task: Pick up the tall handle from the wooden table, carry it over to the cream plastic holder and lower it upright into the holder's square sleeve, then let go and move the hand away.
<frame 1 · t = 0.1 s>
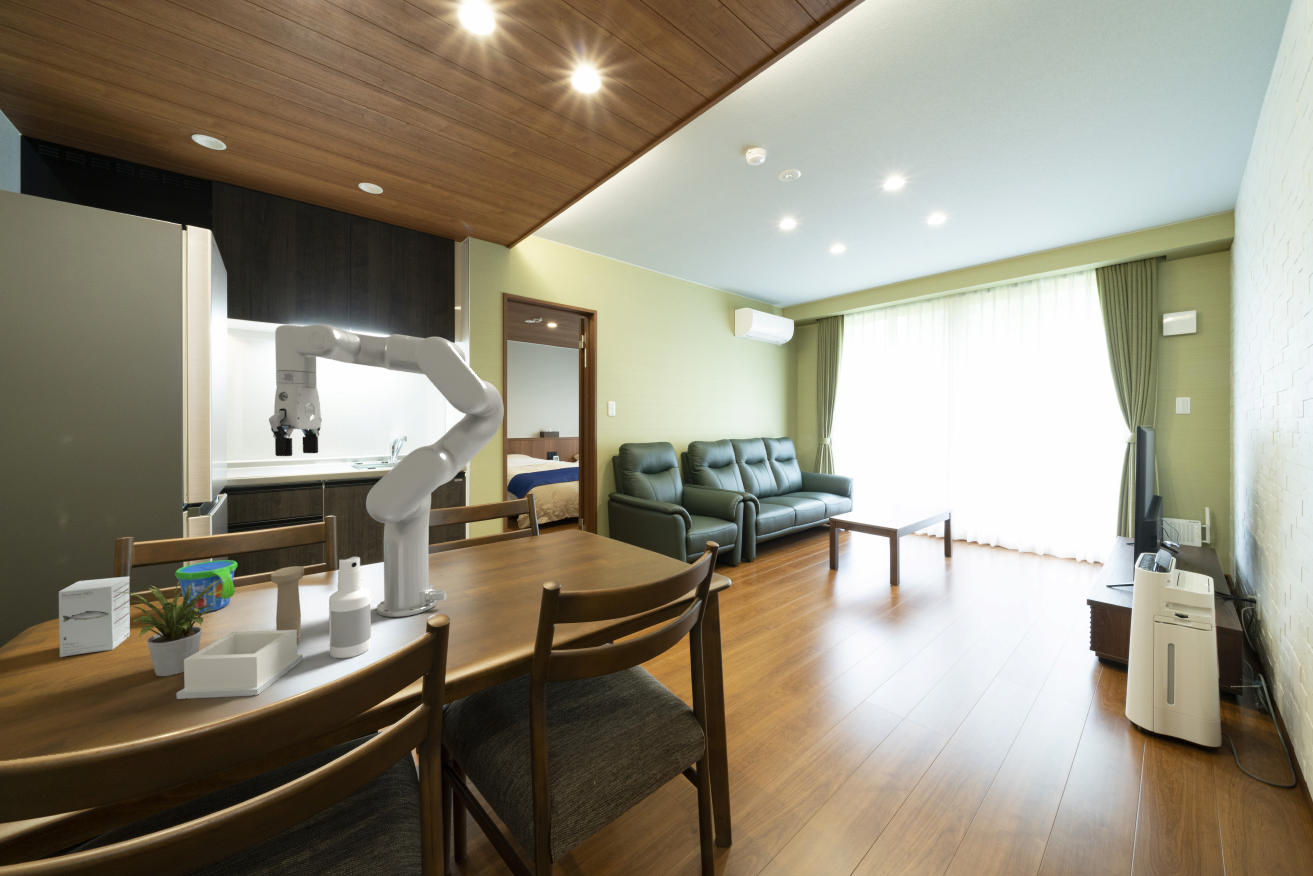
hand: (297, 454, 114), 37 cm above the table, tool pointing down, fingers open, 9 cm apart
snack cup: (208, 609, 116), on the table
spray bottle: (350, 651, 95), on the table
handle: (289, 647, 97), on the table
house plant: (165, 672, 87), on the table
supplement box: (96, 647, 96), on the table
holder: (244, 677, 85), on the table
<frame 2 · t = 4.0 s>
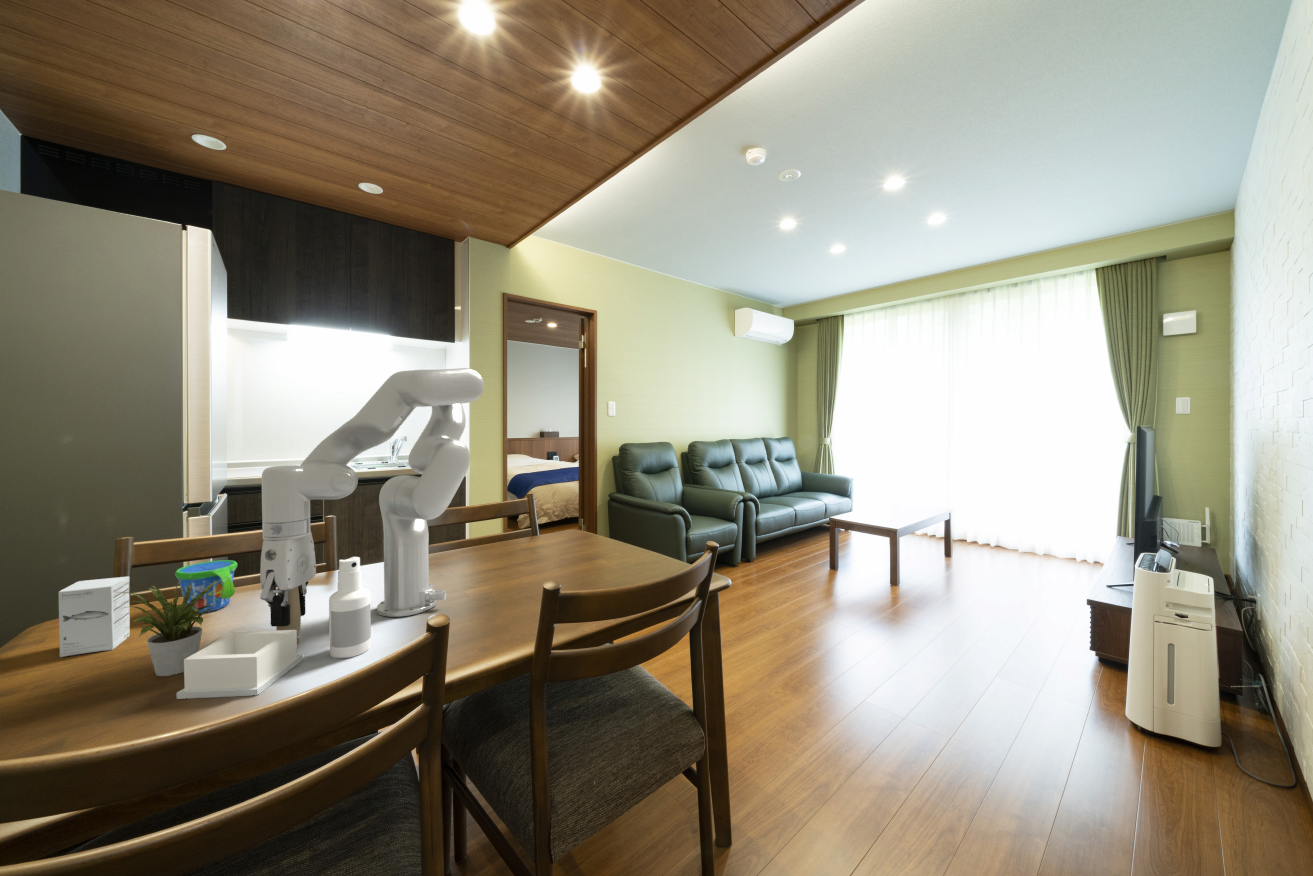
hand: (288, 619, 97), 5 cm above the table, tool pointing down, fingers closed on handle, 4 cm apart
handle: (289, 647, 97), on the table, touching gripper
everything else where it was.
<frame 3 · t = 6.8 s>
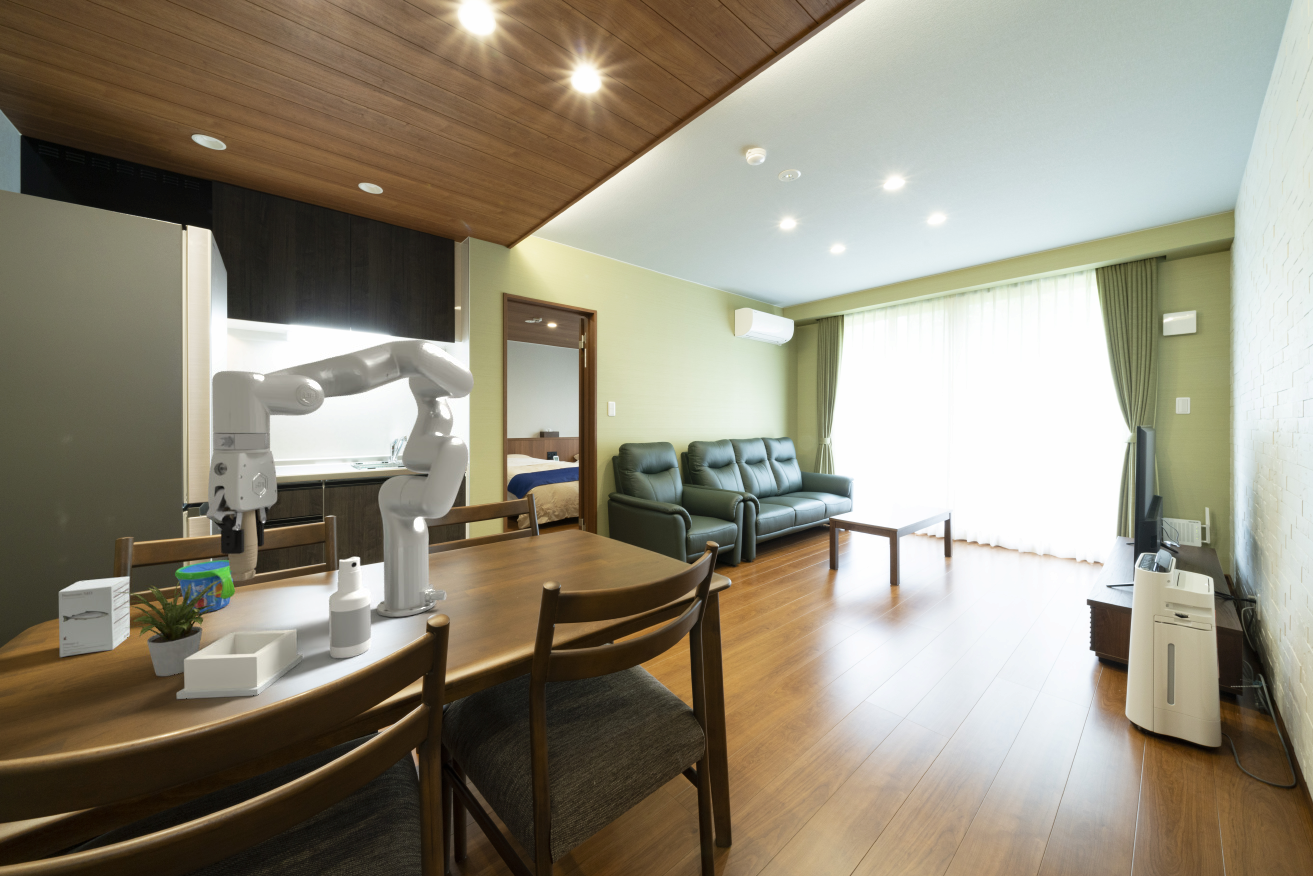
hand: (243, 548, 85), 23 cm above the table, tool pointing down, fingers closed on handle, 4 cm apart
handle: (243, 580, 85), point 17 cm above the table, touching gripper
everything else where it was.
when the fingers open (8 cm above the table, at t = 9.9 s): handle drops 1 cm, resting on holder.
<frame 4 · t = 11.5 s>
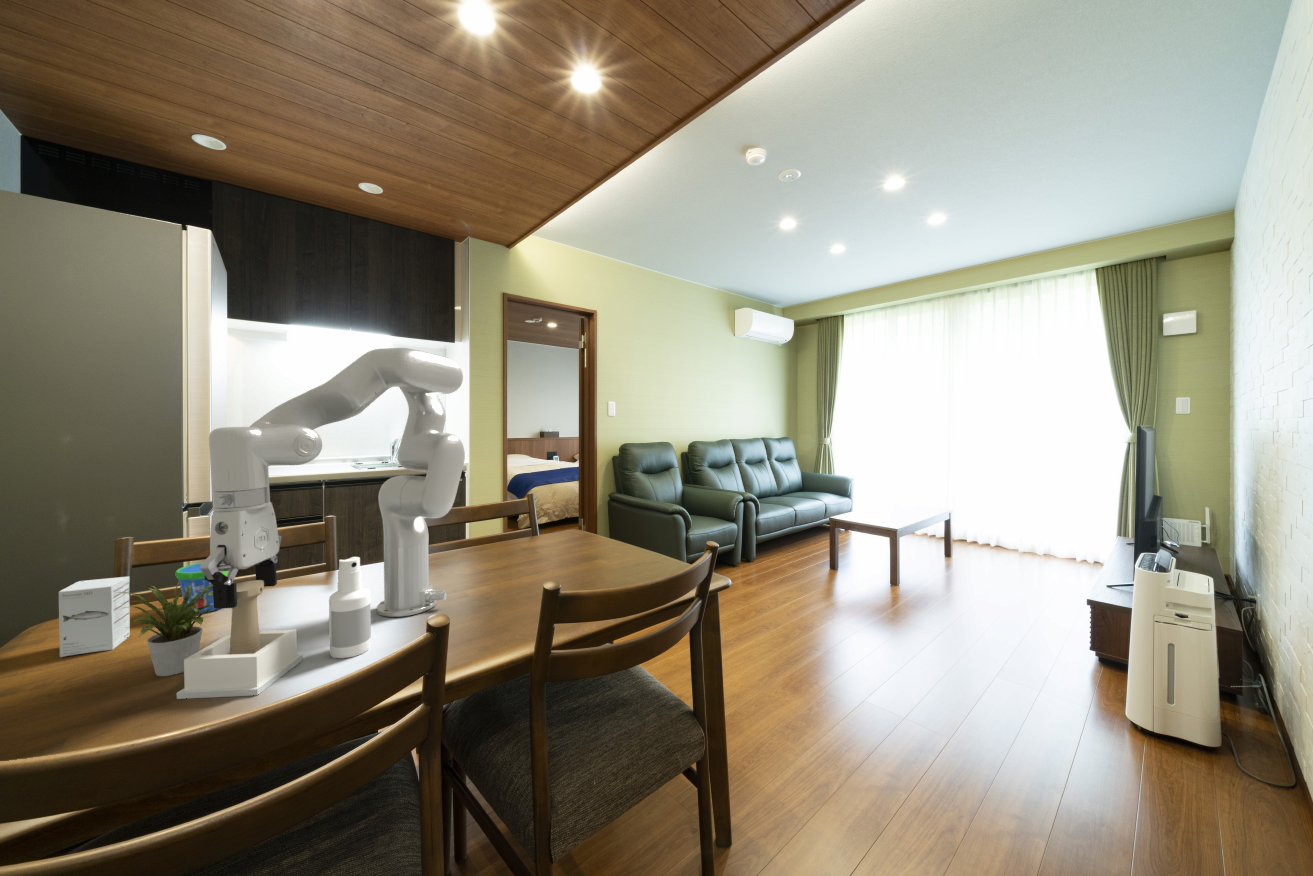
hand: (247, 596, 85), 14 cm above the table, tool pointing down, fingers open, 9 cm apart
handle: (245, 672, 85), point 1 cm above the table, touching holder
everything else where it was.
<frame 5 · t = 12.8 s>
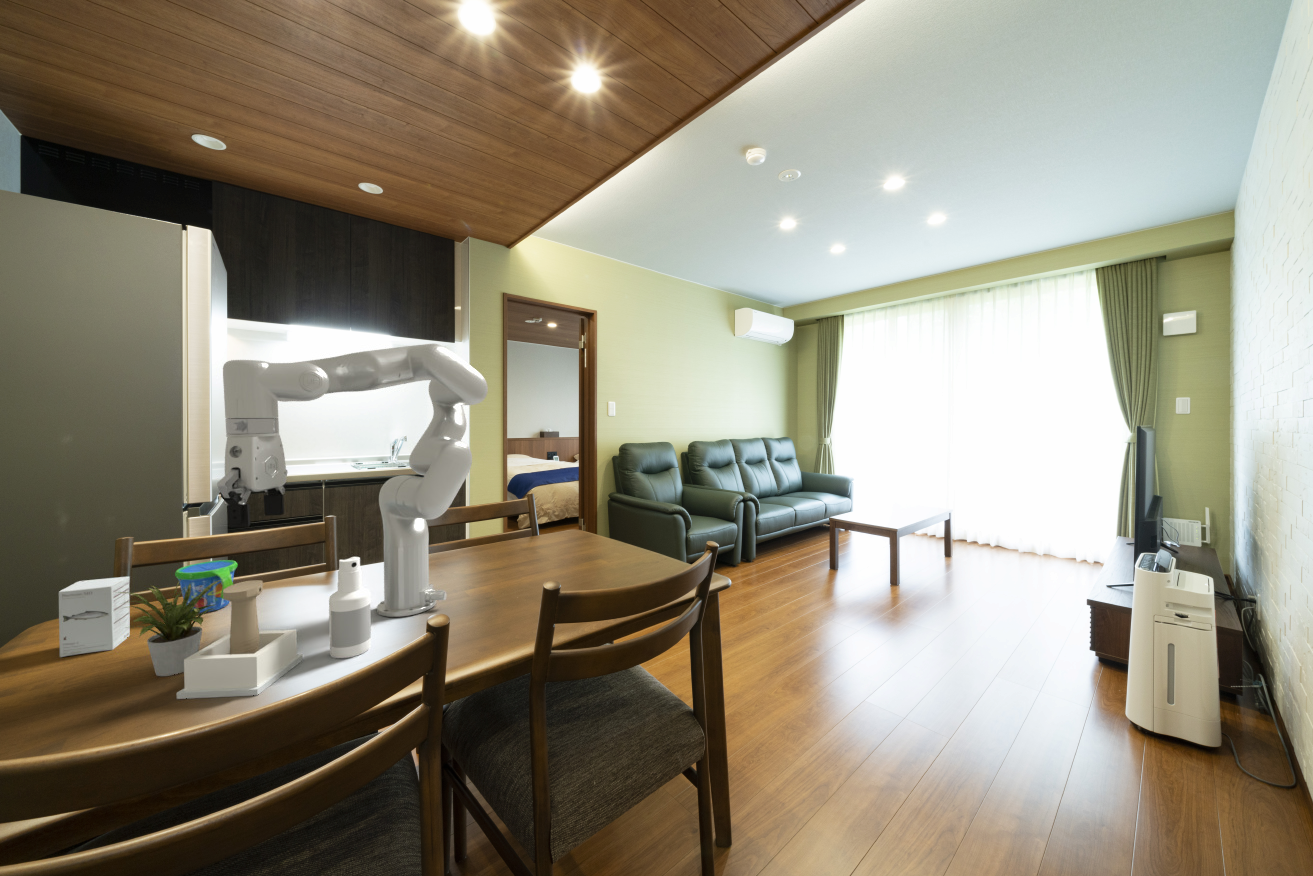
hand: (257, 520, 91), 26 cm above the table, tool pointing down, fingers open, 9 cm apart
nothing on the table moved.
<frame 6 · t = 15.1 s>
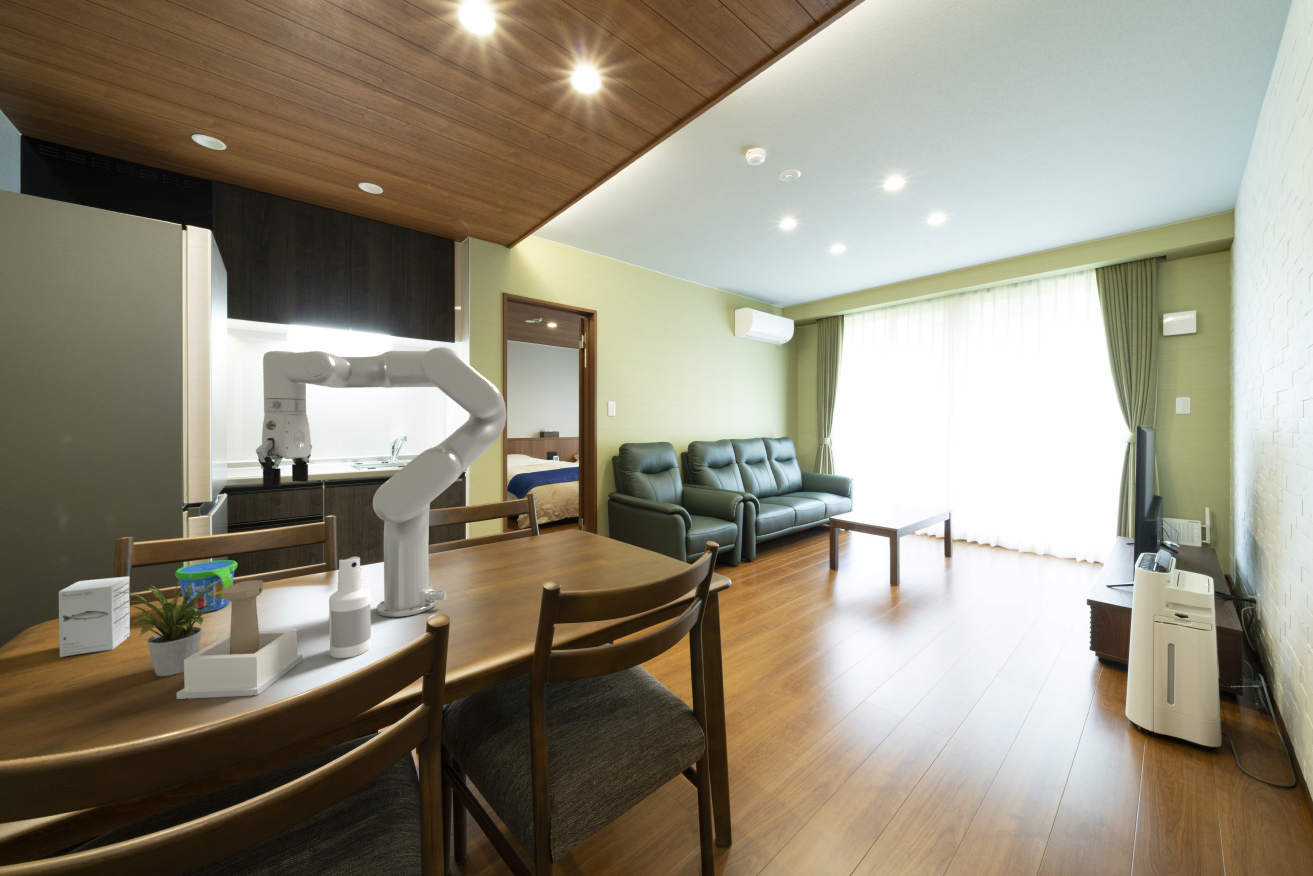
hand: (286, 484, 110), 30 cm above the table, tool pointing down, fingers open, 9 cm apart
nothing on the table moved.
at the end: handle 0.1 cm off-centre on the holder, point 0.8 cm above the holder's base; handle tilted 0°; the gripper is holding nothing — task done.
